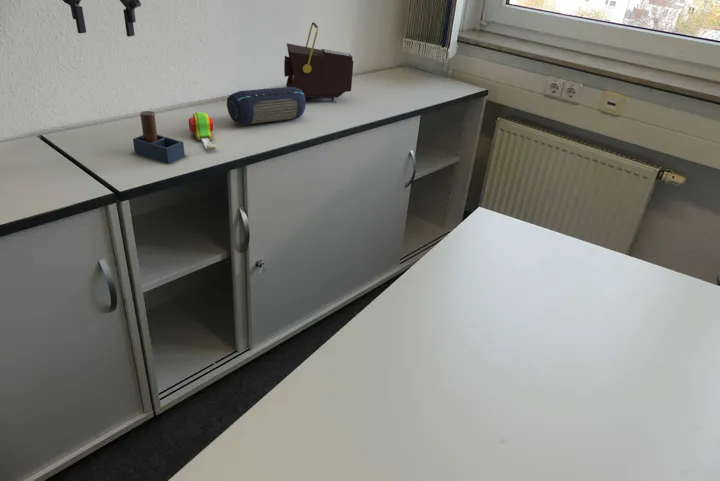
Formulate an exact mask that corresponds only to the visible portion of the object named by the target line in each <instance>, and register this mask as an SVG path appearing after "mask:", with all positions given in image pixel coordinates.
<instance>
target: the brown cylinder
mask: <svg viewBox="0 0 720 481" xmlns="http://www.w3.org/2000/svg"><path fill="white" fill-rule="evenodd" d="M139 114H140V115H139V116H140V122H141V123H140V124H141V129H142V135H143V138H144V141H146V142H149V143H151V142H154V141H156V140H158V139H157V135H158V132H157V123H156V115H155V112H154V111H151V110H143V111H140V112H139Z"/></svg>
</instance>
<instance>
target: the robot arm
mask: <svg viewBox="0 0 720 481" xmlns="http://www.w3.org/2000/svg"><path fill="white" fill-rule="evenodd" d="M63 1H64V2H65V3H64V4H66V3H67V5H68V6H69V7H70V12H71V17H72V19H73V20H75V24H76V30H77V34H86V33H87V28H86V27H87V26H86V21H85V15H84V10H83V6H81V5H80V3H81V1H82V0H63ZM119 2H120V3H121V4H122V5H123V7H124V9H123V11H122V12H123V18H124V24H125V30H126V32H125V33H126V37H134V36H135V35H136V34H135V28H134V23H136V20H137V19H136V13H135V10H136V9H137V8H141V6H142V2H141V1H140V0H119Z"/></svg>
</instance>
